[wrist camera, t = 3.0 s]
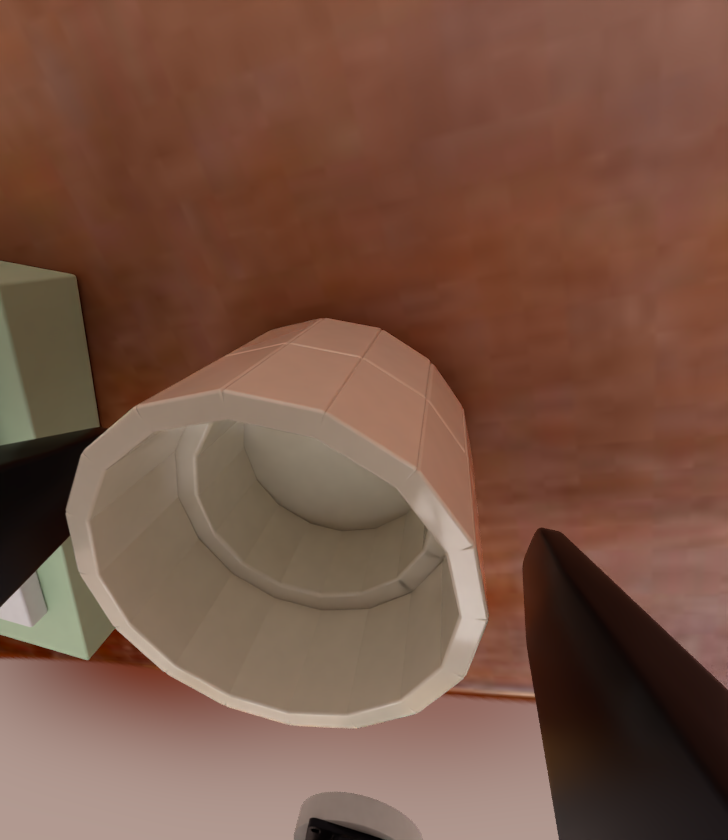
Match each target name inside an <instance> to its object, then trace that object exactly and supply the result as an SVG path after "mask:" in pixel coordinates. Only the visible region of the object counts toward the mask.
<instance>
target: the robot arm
mask: <svg viewBox="0 0 728 840" xmlns="http://www.w3.org/2000/svg"><path fill="white" fill-rule="evenodd" d="M107 429H108V428H104V427H94V428H89V429H84V430H79V431H73V432H68V433H63V434H58V435H52V436H47V437H42V438H37V439H31V440H26V441H21V442H15V443H10V444H5V445H0V607H1V606H2V605H3V604H4V603H5V602H6V601H7V600H8V599H9V598H10V597H11V596H12V595H13V594H14V593H15V592H16V591H17V590H18V589H19V588H20V587H21V586H22V585H23V584H24V583H25V582H26V581H27V580H28V579H29V578H30V577H31V575H32V574H33V573H34V572H35V571H36V570H37V569H38V568H39V567H40V566H41V565H42V564H43V563H44V562H45V561H46V560H47V559H48V558H49V557H50V556H51V555H52V554H53V553H54V552H55V551H56V550H57V549H58V548H59V547H60V546H61V545H62V544H63V543H64V542H65V540H66V539H67V538H68V537H69V536H70V533H69V528H68V524H67V519H66V515H65V514H66V510H65V509H66V506H67V502H68V499H69V495H70V492H71V488H72V484H73V481H74V477H75V474H76V470H77V466H78V463H79V459H80V456H81V454H82V453H83V451H84V449H85V448H86V447H87V446H89V445H90V444H91V443H92V442H93V441H94V440H96V439H97V438H98V437H99V436H100V435H101V434H103V433H104V432H105V431H106V430H107ZM523 588H524V607H525V627H526V641H527V650H528V657H529V663H530V669H531V675H532V681H533V687H534V693H535V699H536V705H537V711H538V717H539V723H540V728H541V734H542V740H543V746H544V752H545V758H546V764H547V770H548V776H549V782H550V788H551V794H552V800H553V806H554V812H555V818H556V824H557V830H558V835H559V840H728V690H727V689H726V688H725V687H724V686H723V685H722V684H721V683H720V682H719V681H718V680H717V679H716V678H715V677H714V676H713V675H712V674H711V673H709V672H708V671H707V670H706V669H705V668H704V667H703V666H702V665H701V664H700V663H699V662H698V661H697V660H696V659H695V658H694V657H693V656H691V655H690V654H689V653H688V652H687V651H686V650H685V649H684V648H683V647H682V646H681V645H680V644H679V643H678V642H677V641H676V640H675V639H674V638H672V637H671V636H670V635H669V634H668V633H667V632H666V631H665V630H664V629H663V628H662V627H661V626H660V625H659V624H658V623H657V622H656V621H654V620H653V619H652V618H651V617H650V616H649V615H648V614H647V613H646V612H645V611H644V610H643V609H642V608H641V607H640V606H639V605H638V604H637V603H635V602H634V601H633V600H632V599H631V598H630V597H629V596H628V595H627V594H626V593H625V592H624V591H623V590H622V589H621V588H620V587H619V586H617V585H616V584H615V583H614V582H613V581H612V580H611V579H610V578H609V577H608V576H607V575H606V574H605V573H604V572H603V571H602V570H601V569H600V568H598V567H597V566H596V565H595V564H594V563H593V562H592V561H591V560H590V559H589V558H588V557H587V556H586V555H585V554H584V553H583V552H582V551H580V550H579V549H578V548H577V547H576V546H575V545H574V544H573V543H572V542H571V541H570V540H569V539H568V538H567V537H566V536H565V535H564V534H562V533H561V532H559V531H555V530H550V529H546V528H539V529H537V531H536V532H535V534H534V536H533V539H532V541H531V543H530V546H529V548H528V551H527V553H526V555H525V558H524V561H523ZM305 840H385V839H382V838H378V837H375V836H372V835H369V834H366V833H363V832H360V831H356V830H353V829H350V828H347V827H344V826H341V825H338V824H335V823H331V822H328V821H325V820H322V819H319V818H310V819H309V823H308V827H307V832H306V838H305Z"/></svg>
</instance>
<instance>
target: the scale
mask: <svg viewBox="0 0 728 840" xmlns="http://www.w3.org/2000/svg"><path fill="white" fill-rule="evenodd" d="M94 427H100V423H99V417H98V411H97V404H96V398H95V392H94V385H93V379H92V373H91V367H90V360H89V354H88V348H87V341H86V335H85V329H84V322H83V316H82V310H81V304H80V297H79V291H78V285H77V278H76V276H75V275H73V274H69V273H63V272H58V271H53V270H47V269H42V268H37V267H31V266H26V265H21V264H16V263H10V262H5V261H0V445H5V444H10V443H15V442H21V441H26V440H31V439H37V438H42V437H47V436H52V435H58V434H63V433H68V432H73V431H79V430H84V429H89V428H94ZM115 628H116V627H114V626H113V625H112V624H111V622H110V620H109V619H108V617H107V616H106V614H105V613H104V611H103V610H102V608H101V607H100V605H99V604H98V602H97V600H96V599H95V597H94V596H93V594H92V593H91V591H90V590H89V588H88V587H87V585H86V583H85V582H84V580H83V579H82V577H81V576H80V572H79V571H78V568H77V564H76V559H75V555H74V550H73V546H72V541H71V537H70V536H69V537H68V538H67V539H66V540H65V542H64V543H63V544H62V545H61V546H60V547H59V548H58V549H57V550H56V551H55V552H54V553H53V554H52V555H51V556H50V557H49V558H48V559H47V560H46V561H45V562H44V563H43V564H42V565H41V566H40V567H39V568H38V569H37V570H36V571H35V572H34V573H33V574H32V575H31V577H30V578H29V579H28V580H27V581H26V582H25V583H24V584H23V585H22V586H21V587H20V588H19V589H18V590H17V591H16V592H15V593H14V594H13V595H12V596H11V597H10V598H9V599H8V600H7V601H6V602H5V603H4V604H3V605H2V606H1V607H0V635H4V636H7V637H11V638H14V639H17V640H21V641H24V642H27V643H31V644H34V645H38V646H41V647H44V648H48V649H51V650H55V651H58V652H61V653H65V654H68V655H71V656H75V657H78V658H82V659H85V660H89V659H90V658H91V656H92V655H93V654H94V653H95V652H96V650H97V649H98V648H99V647H100V646H101V644H102V643H103V642H104V641H105V640H106V639H107V637H108V636H109V635H110V634H111V633H112V631H113V630H114V629H115Z"/></svg>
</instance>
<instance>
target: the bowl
mask: <svg viewBox="0 0 728 840" xmlns="http://www.w3.org/2000/svg"><path fill="white" fill-rule="evenodd" d="M65 510H66V514H65V515H66V519H67V524H68V528H69V533H70V537H71V541H72V546H73V550H74V555H75V559H76V564H77V568H78V571H79V572H80V576H81V577H82V579H83V580H84V582H85V583H86V585H87V587H88V588H89V590H90V591H91V593H92V594H93V596H94V597H95V599H96V600H97V602H98V604H99V605H100V607H101V608H102V610H103V611H104V613H105V614H106V616H107V617H108V619H109V620H110V622H111V624H112V625H113V626H114V627H116V630H117V631H118V632H120V633H121V634H122V635H123V636H124V637H125V638H126V639H127V640H129V641H130V642H131V643H132V644H133V645H134V646H135V647H136V648H137V649H139V650H140V651H141V652H142V653H143V654H144V655H145V656H146V657H148V658H149V659H150V660H151V661H152V662H153V663H154V664H155V665H156V666H158V667H159V668H160V669H161V670H162V671H163V672H166V674H168V675H169V676H171V677H173V678H175V679H177V680H178V681H180V682H182V683H184V684H186V685H187V686H189V687H191V688H193V689H195V690H197V691H199V692H200V693H202V694H204V695H206V696H208V697H209V698H211V699H213V700H215V701H216V702H218V703H220V704H222V705H226V706H227V707H230V708H233V709H236V710H240V711H243V712H246V713H250V714H253V715H256V716H260V717H263V718H266V719H270V720H273V721H276V722H280V723H284V724H287V725H290V724H291V725H292V726H307V727H308V726H309V727H328V728H346V729H355V728H362V727H366V726H370V725H374V724H378V723H382V722H386V721H390V720H394V719H398V718H402V717H407V716H411V715H414V714H416V713H419V712H420V711H422V710H423V709H424V708H426V707H427V706H428V705H430V704H431V703H432V702H433V701H435V700H436V699H438V698H439V697H440V696H442V695H443V694H444V693H446V692H447V691H448V690H450V689H451V688H452V687H453V686H455V685H456V684H457V683H459V682H460V681H461V680H463V679H464V676H466V674H467V672H468V670H469V667H470V665H471V662H472V660H473V657H474V655H475V652H476V650H477V647H478V645H479V642H480V640H481V638H482V635H483V633H484V630H485V628H486V625H487V623H488V617H489V611H488V602H487V592H486V583H485V573H484V564H483V555H482V545H481V536H480V526H479V517H478V508H477V498H476V489H475V480H474V470H473V461H472V453H471V447H470V441H469V435H468V429H467V423H466V417H465V412H464V409H463V408H462V405H461V404H460V402H459V401H458V399H457V398H456V396H455V395H454V393H453V392H452V390H451V389H450V387H449V386H448V384H447V383H446V381H445V380H444V379H443V377H442V376H441V374H440V373H439V371H438V370H437V368H436V367H435V365H433V364H432V363H431V364H430V360H429V359H428V358H426V357H425V356H423V355H421V354H420V353H418V352H417V351H415V350H414V349H412V348H411V347H409V346H408V345H406V344H405V343H403V342H401V341H400V340H398V339H397V338H395V337H394V336H392V335H391V334H389V333H388V332H386V331H384V330H381V329H380V328H377V327H372V326H366V325H361V324H356V323H350V322H345V321H340V320H334V319H329V318H324V319H323V318H319V319H315V320H310V321H306V322H302V323H297V324H293V325H289V326H285V327H280V328H276V329H272V330H270V331H268V332H266V333H264V334H263V335H261V336H259V337H257V338H255V339H254V340H252V341H250V342H248V343H246V344H245V345H243V346H241V347H239V348H238V349H236V350H234V351H232V352H230V353H229V354H227V355H225V356H223V357H221V358H220V359H218V360H216V361H214V362H213V363H211V364H209V365H207V366H205V367H204V368H202V369H200V370H198V371H197V372H195V373H193V374H191V375H189V376H188V377H186V378H184V379H182V380H180V381H179V382H177V383H175V384H173V385H172V386H170V387H168V388H166V389H164V390H163V391H161V392H159V393H157V394H155V395H154V396H152V397H150V398H148V399H147V400H145V401H143V402H141V403H139V404H138V405H136V406H134V407H133V408H131V409H130V410H129V411H128V412H127V413H126V414H125V415H123V416H122V417H121V418H120V419H119V420H118V421H116V422H115V423H114V424H113V425H112V426H111V427H109V428H108V429H107V430H106V431H105V432H104V433H103V434H101V435H100V436H99V437H98V438H97V439H96V440H94V441H93V442H92V443H91V444H90V445H89V446H87V447H86V448H85V449H84V451H83V453H82V454H81V456H80V459H79V463H78V466H77V470H76V474H75V477H74V481H73V484H72V488H71V492H70V495H69V499H68V502H67V506H66V509H65Z"/></svg>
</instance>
